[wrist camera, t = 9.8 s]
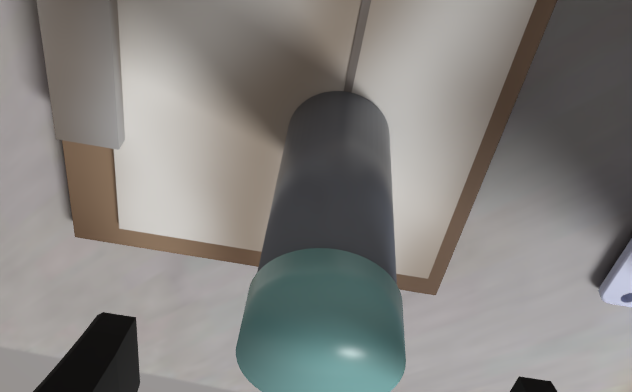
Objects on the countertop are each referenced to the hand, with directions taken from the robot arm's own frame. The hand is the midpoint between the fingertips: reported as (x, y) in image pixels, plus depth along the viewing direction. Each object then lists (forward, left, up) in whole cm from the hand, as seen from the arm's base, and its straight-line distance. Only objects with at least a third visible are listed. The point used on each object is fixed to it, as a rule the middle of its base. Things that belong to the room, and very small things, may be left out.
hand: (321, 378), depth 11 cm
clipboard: (+2, -1, -10) cm, 10 cm away
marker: (0, 0, -9) cm, 9 cm away
